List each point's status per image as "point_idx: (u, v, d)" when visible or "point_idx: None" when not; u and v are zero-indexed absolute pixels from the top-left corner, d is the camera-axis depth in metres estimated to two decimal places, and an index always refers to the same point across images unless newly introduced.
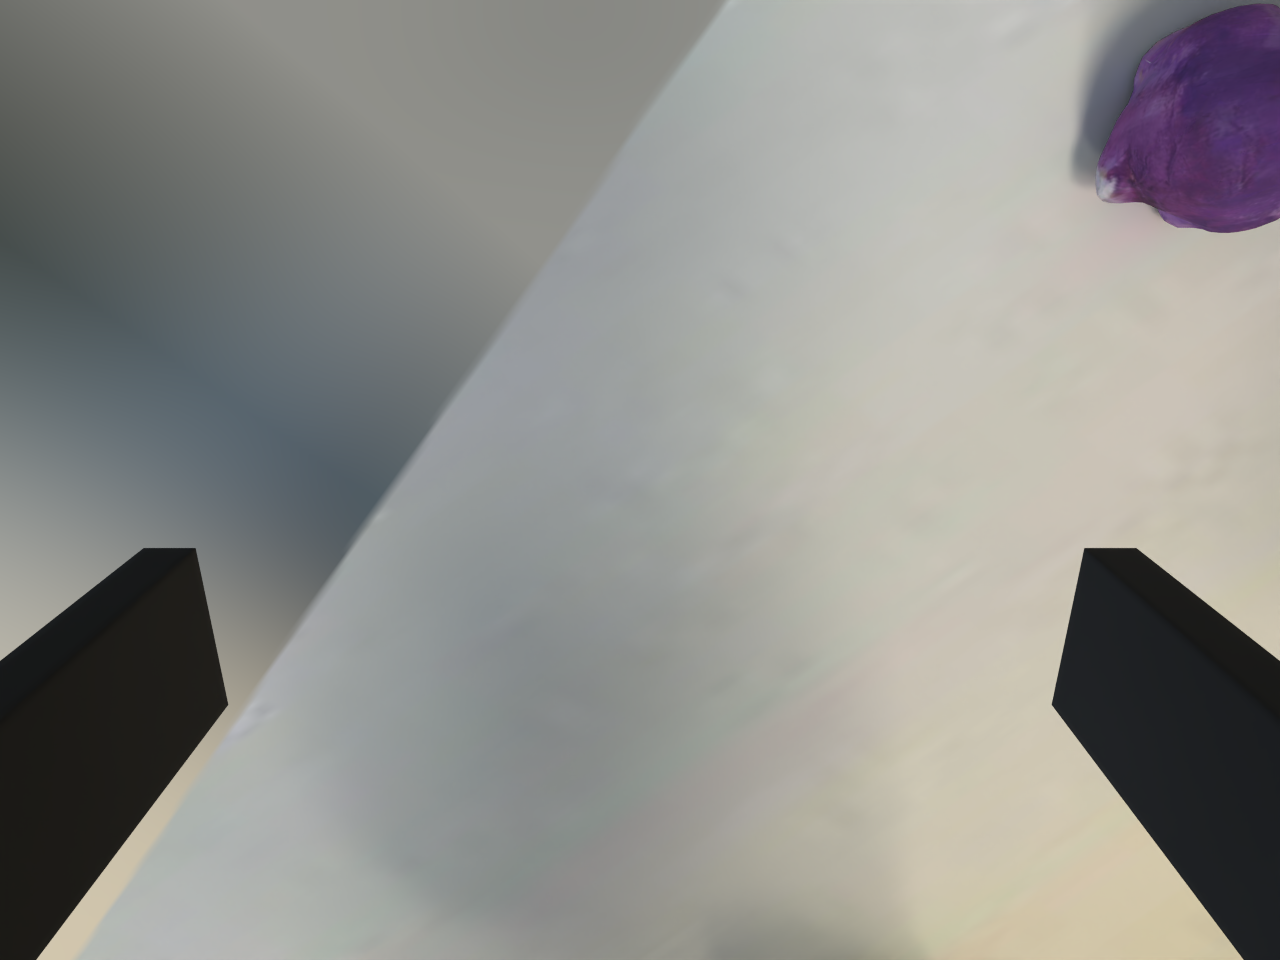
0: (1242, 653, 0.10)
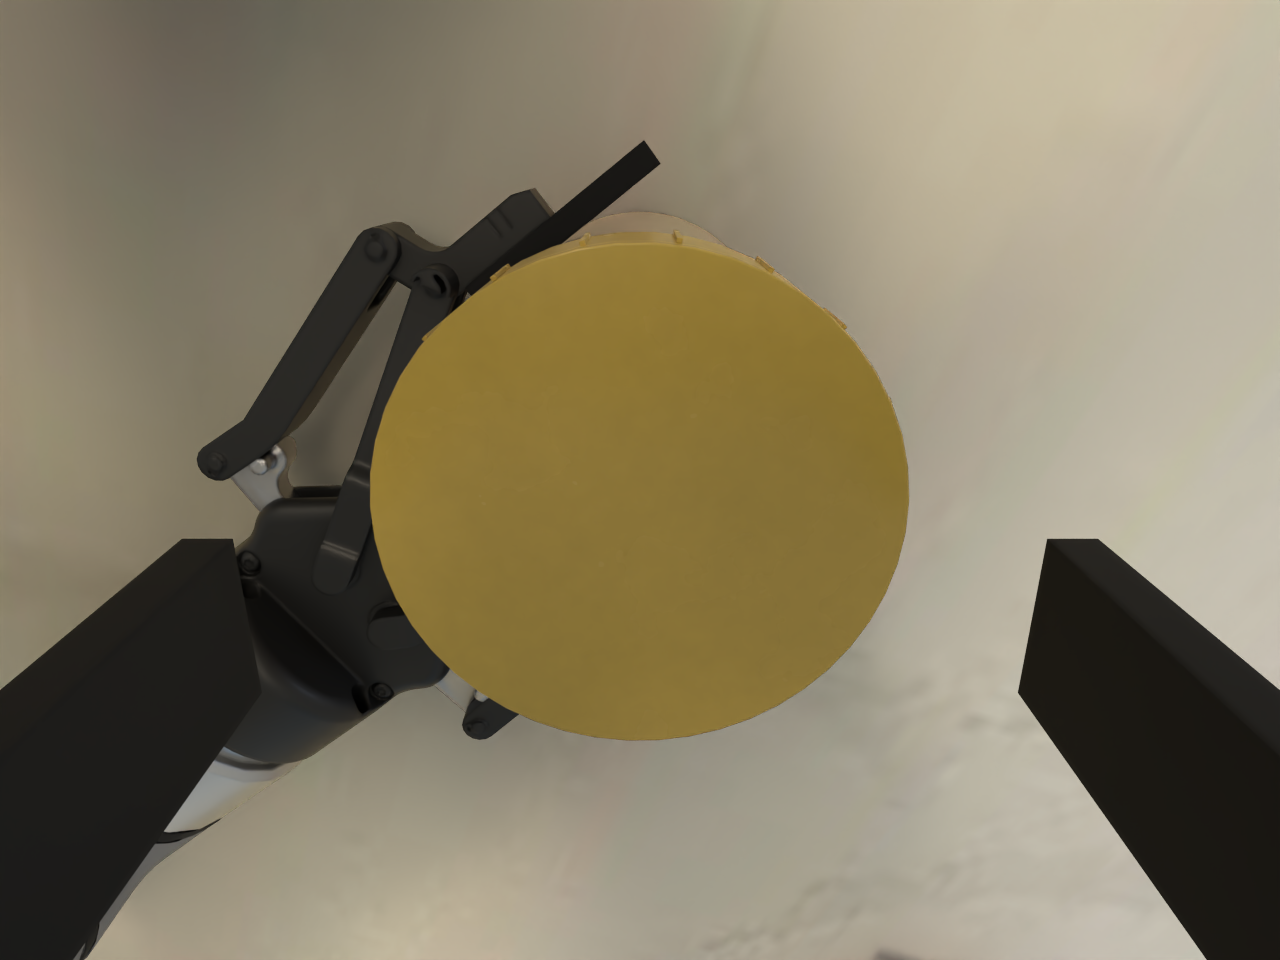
0: (1190, 638, 0.10)
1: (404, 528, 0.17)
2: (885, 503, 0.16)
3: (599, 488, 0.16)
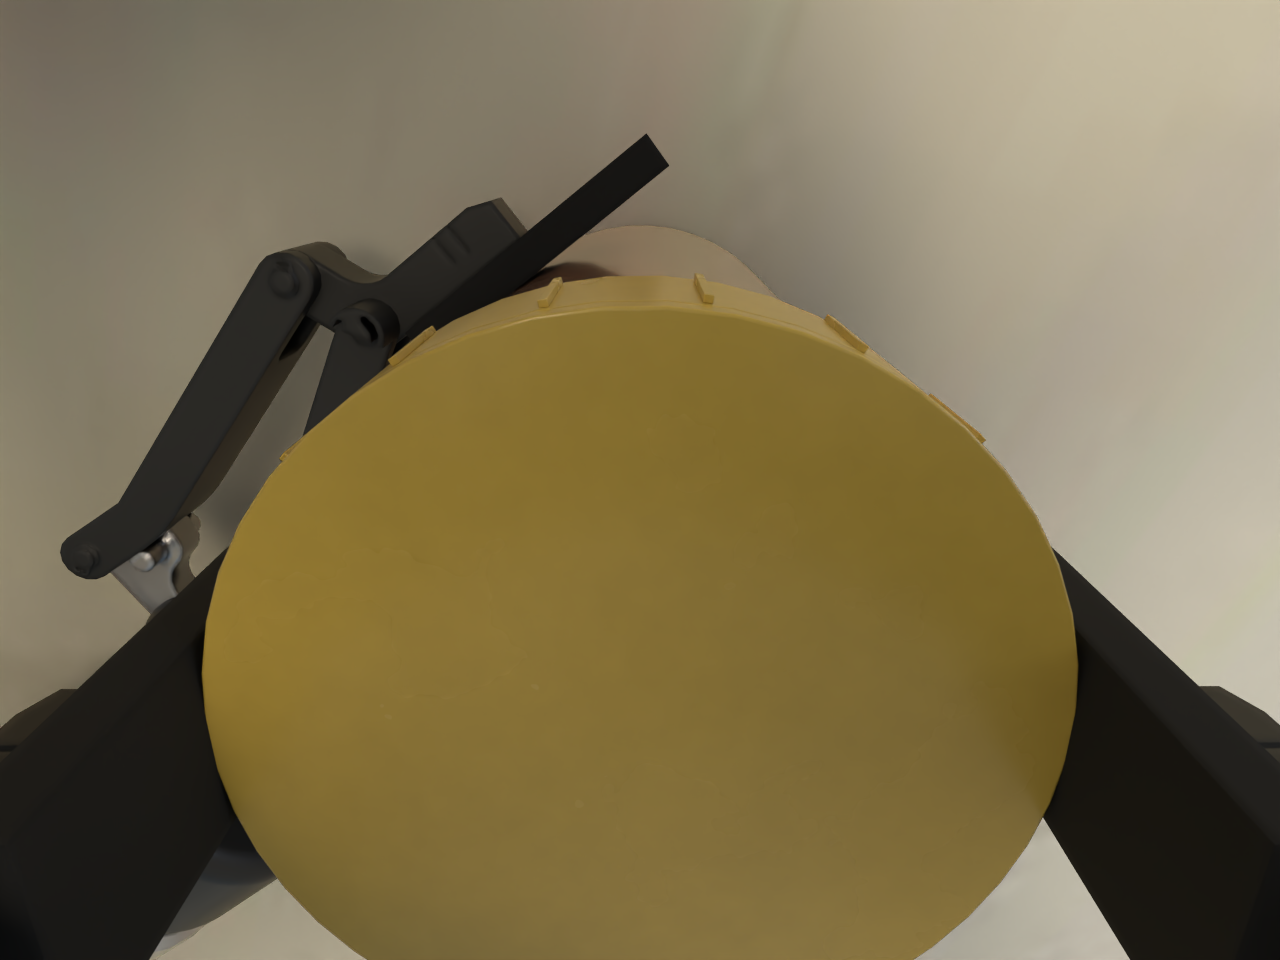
0: (1096, 614, 0.10)
1: (262, 752, 0.10)
2: (1037, 717, 0.10)
3: (575, 694, 0.10)
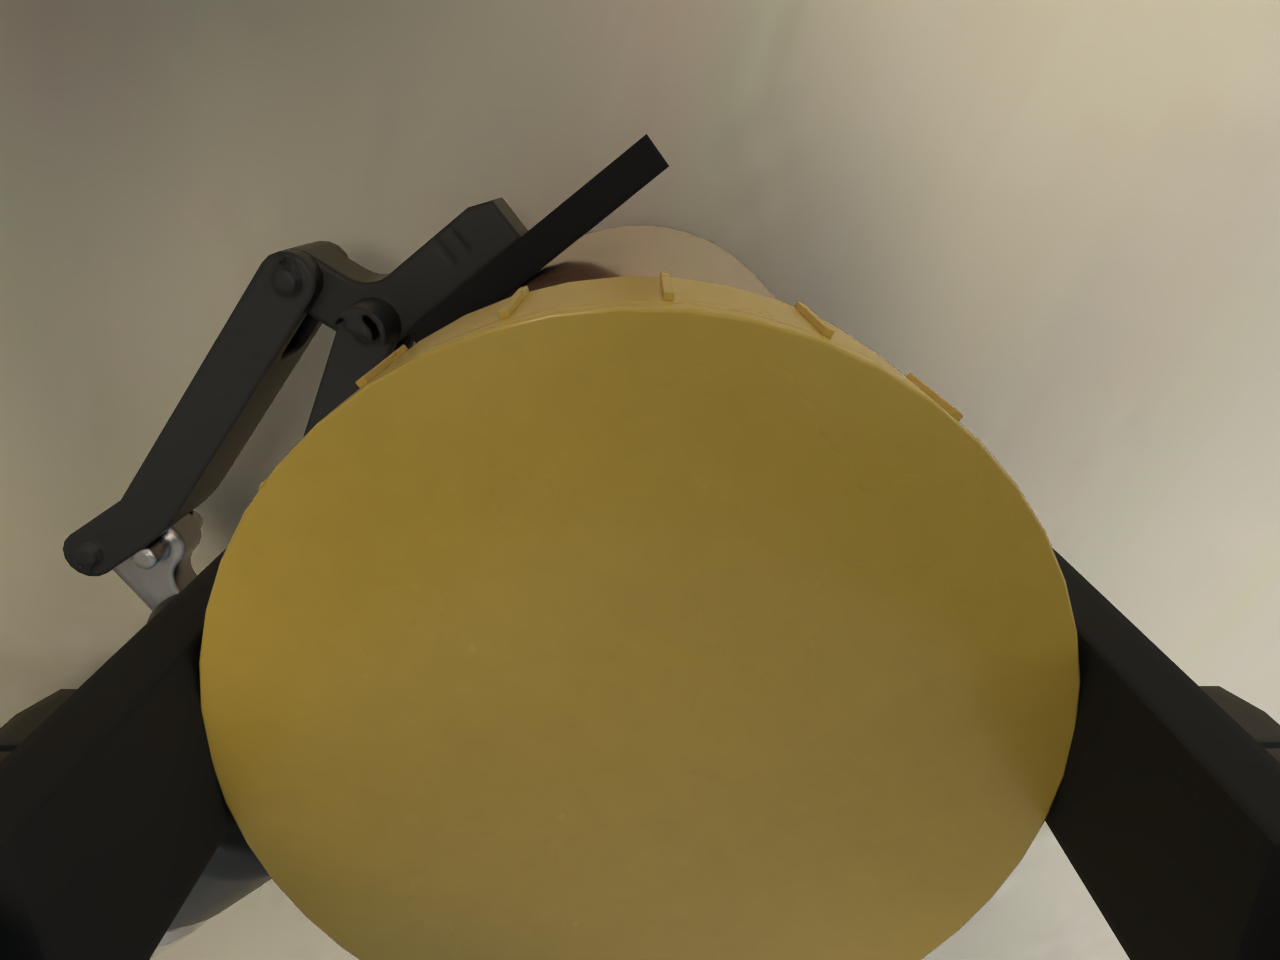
0: (1096, 614, 0.10)
1: None
2: (684, 355, 0.08)
3: (575, 787, 0.10)
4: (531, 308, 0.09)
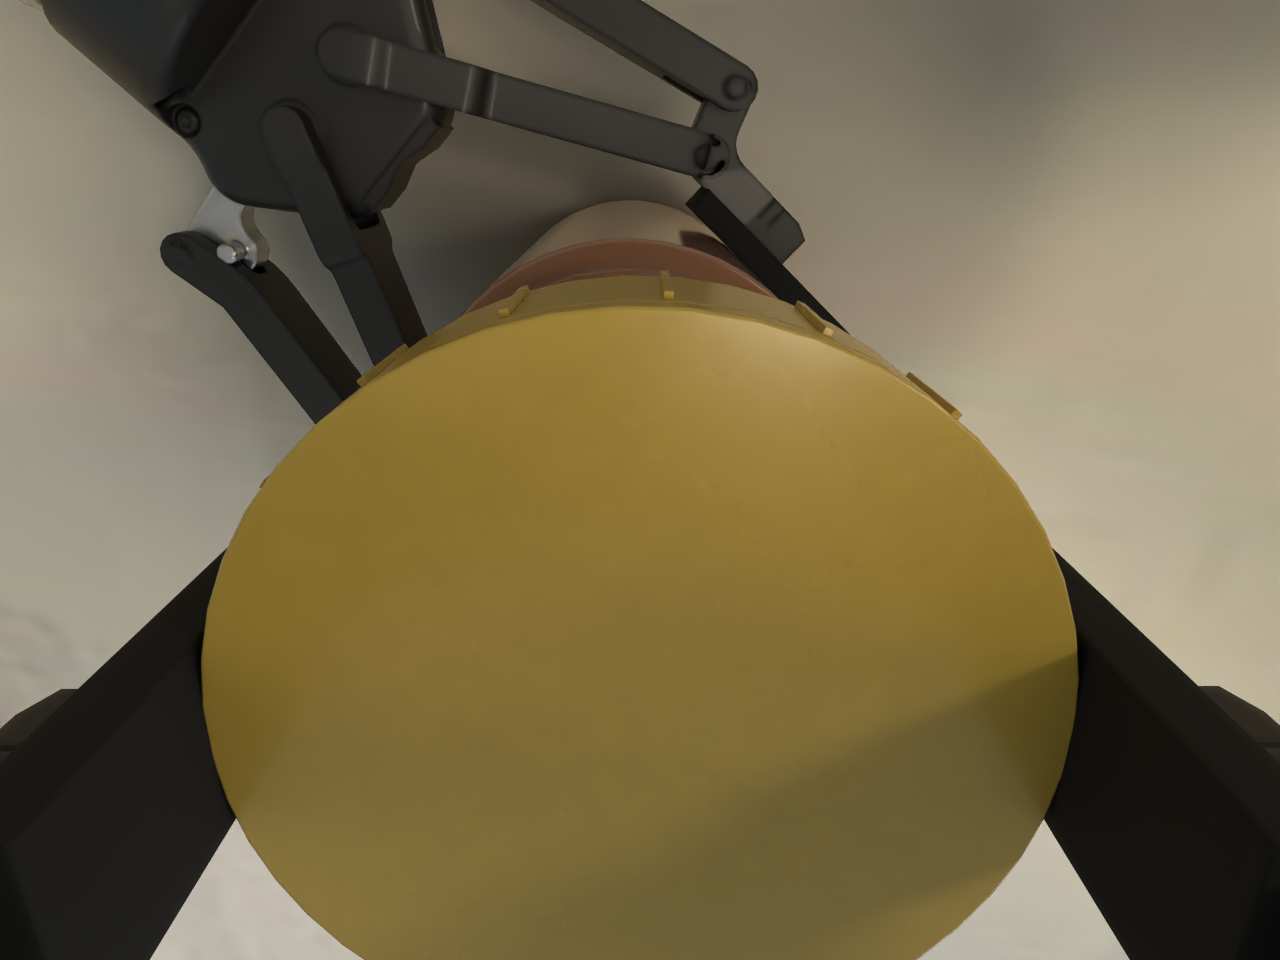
0: (1096, 614, 0.10)
1: None
2: (684, 354, 0.09)
3: (575, 785, 0.10)
4: (532, 307, 0.09)
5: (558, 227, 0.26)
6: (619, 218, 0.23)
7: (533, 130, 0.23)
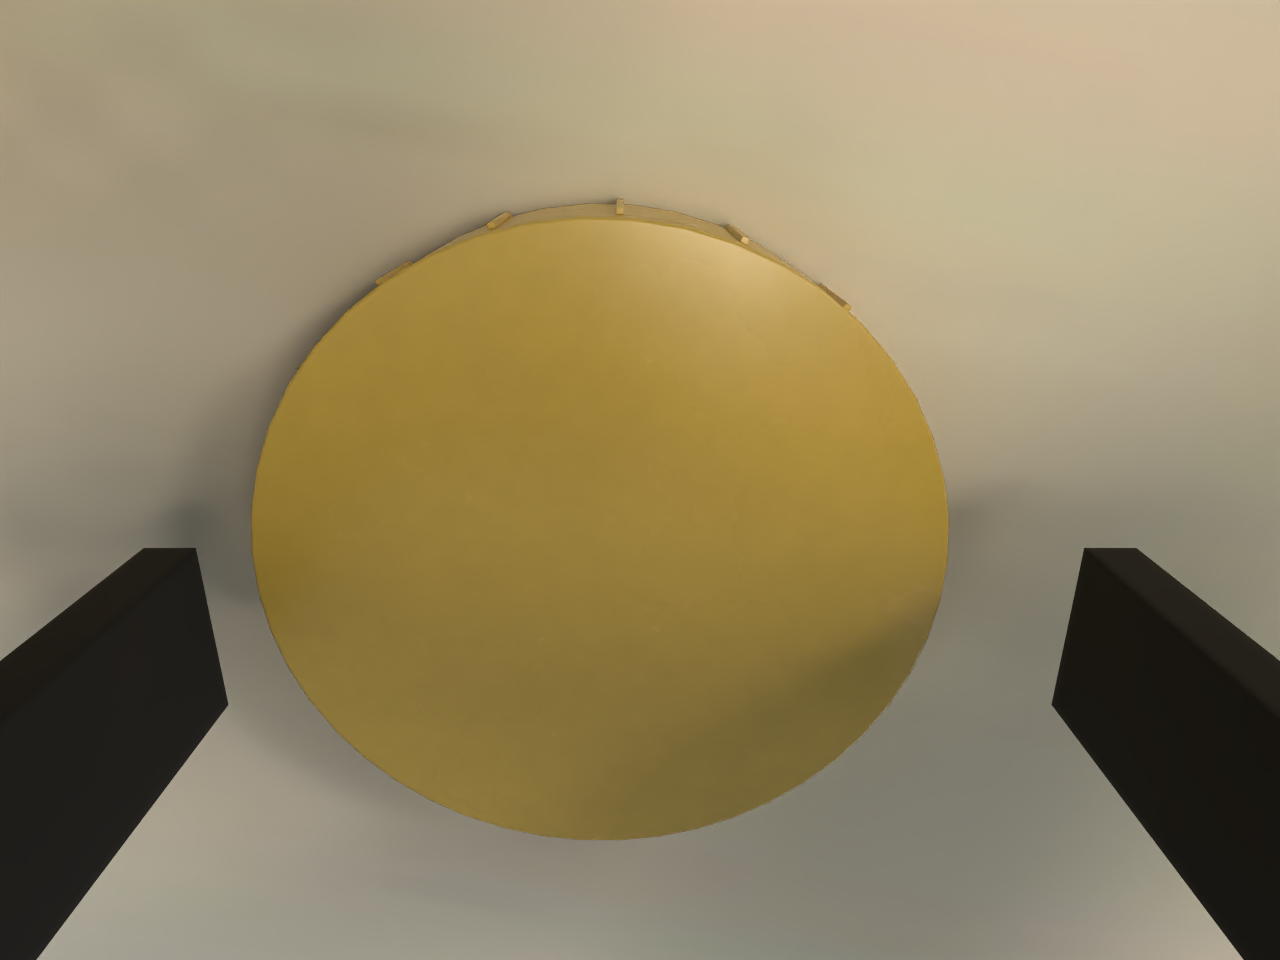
0: (1242, 653, 0.10)
1: (572, 811, 0.15)
2: (631, 255, 0.11)
3: (552, 614, 0.13)
4: (513, 222, 0.11)
5: None
6: None
7: None
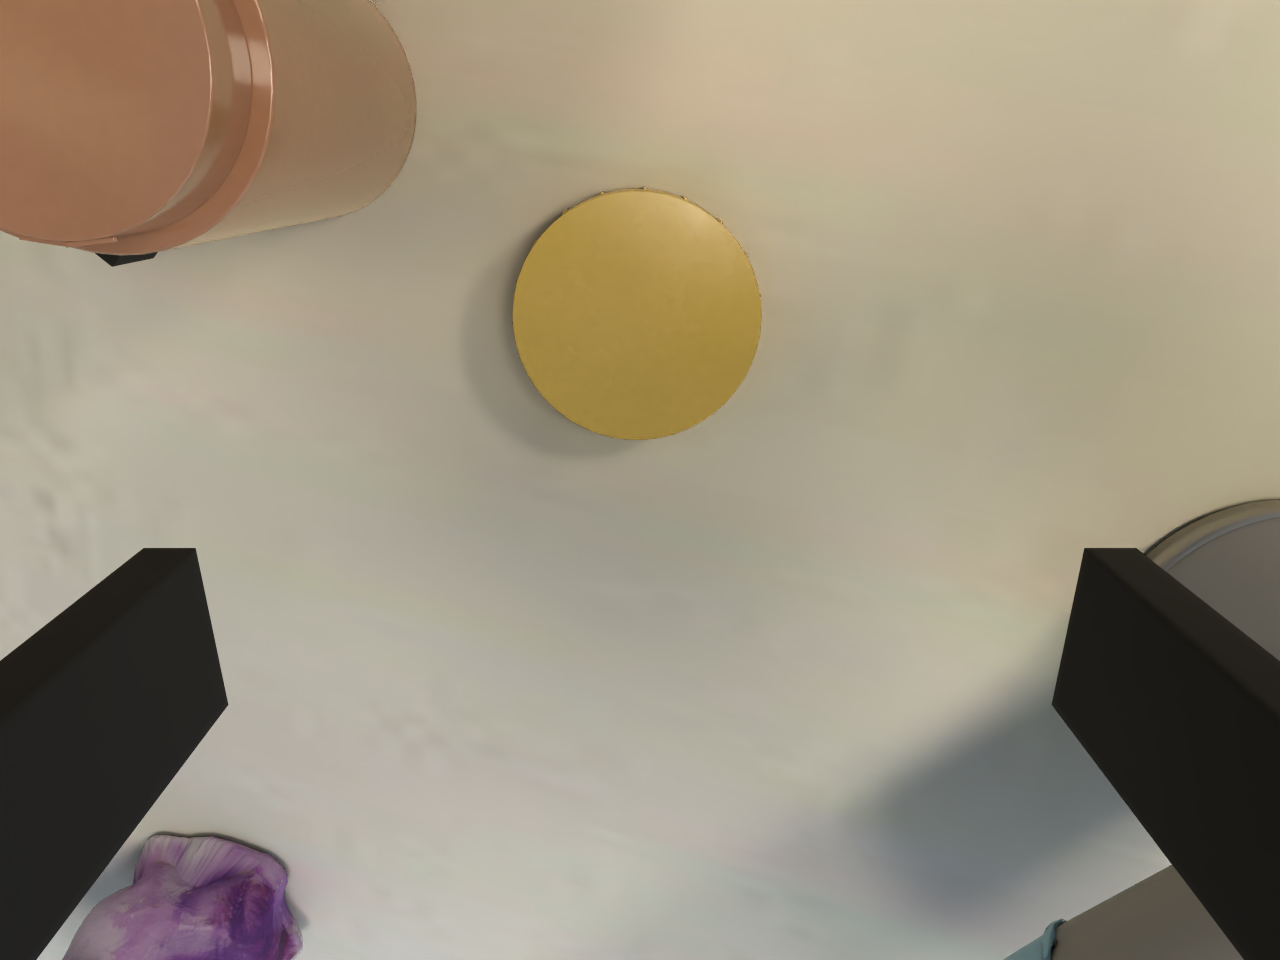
0: (1242, 653, 0.10)
1: (623, 425, 0.37)
2: (647, 203, 0.34)
3: (618, 337, 0.36)
4: (608, 193, 0.34)
5: None
6: None
7: None
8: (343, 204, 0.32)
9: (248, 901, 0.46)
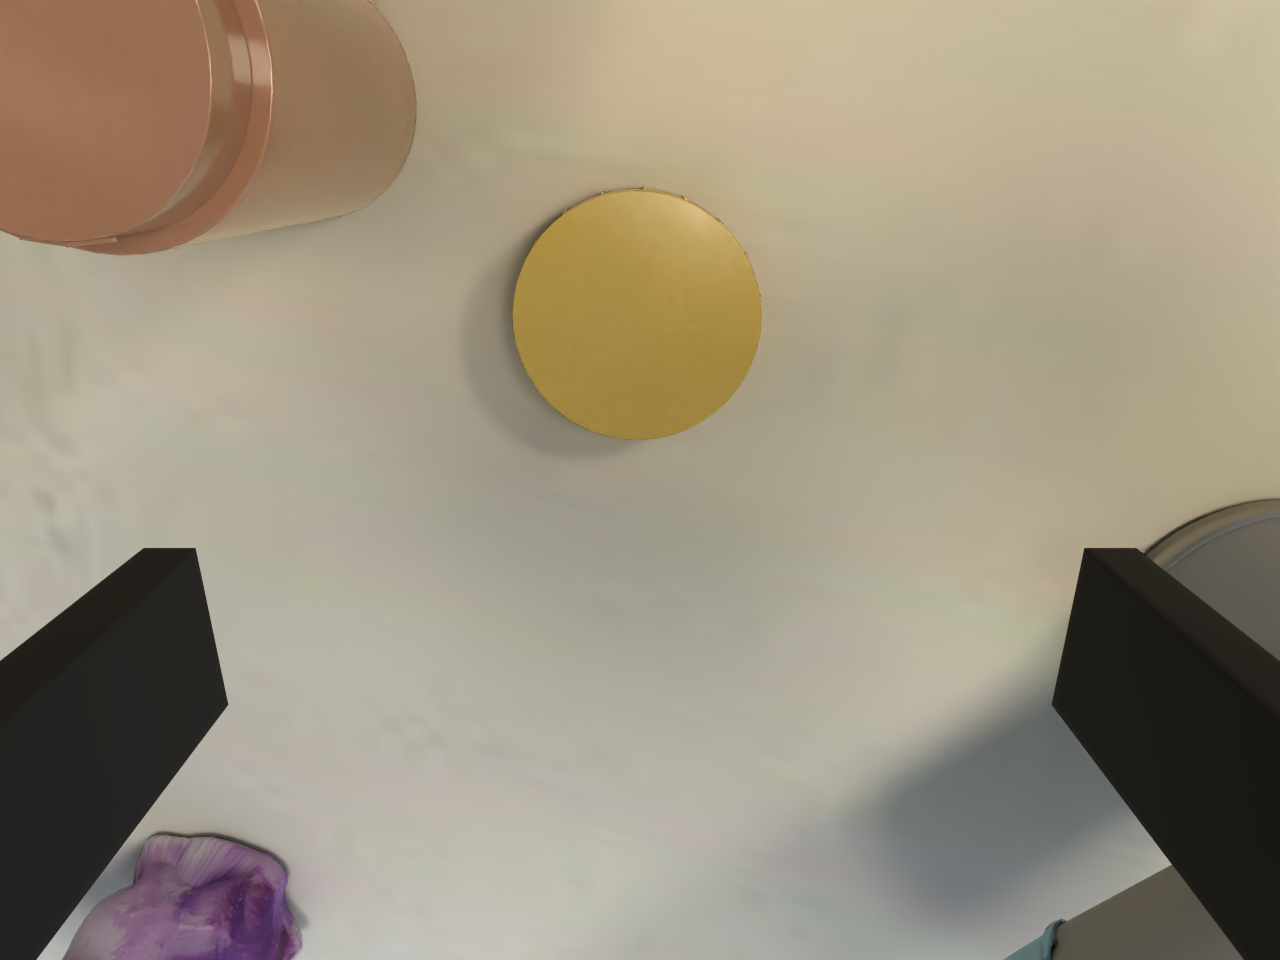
0: (1242, 653, 0.10)
1: (623, 425, 0.37)
2: (647, 203, 0.34)
3: (618, 337, 0.36)
4: (608, 193, 0.34)
5: None
6: None
7: None
8: (343, 204, 0.32)
9: (248, 901, 0.46)
